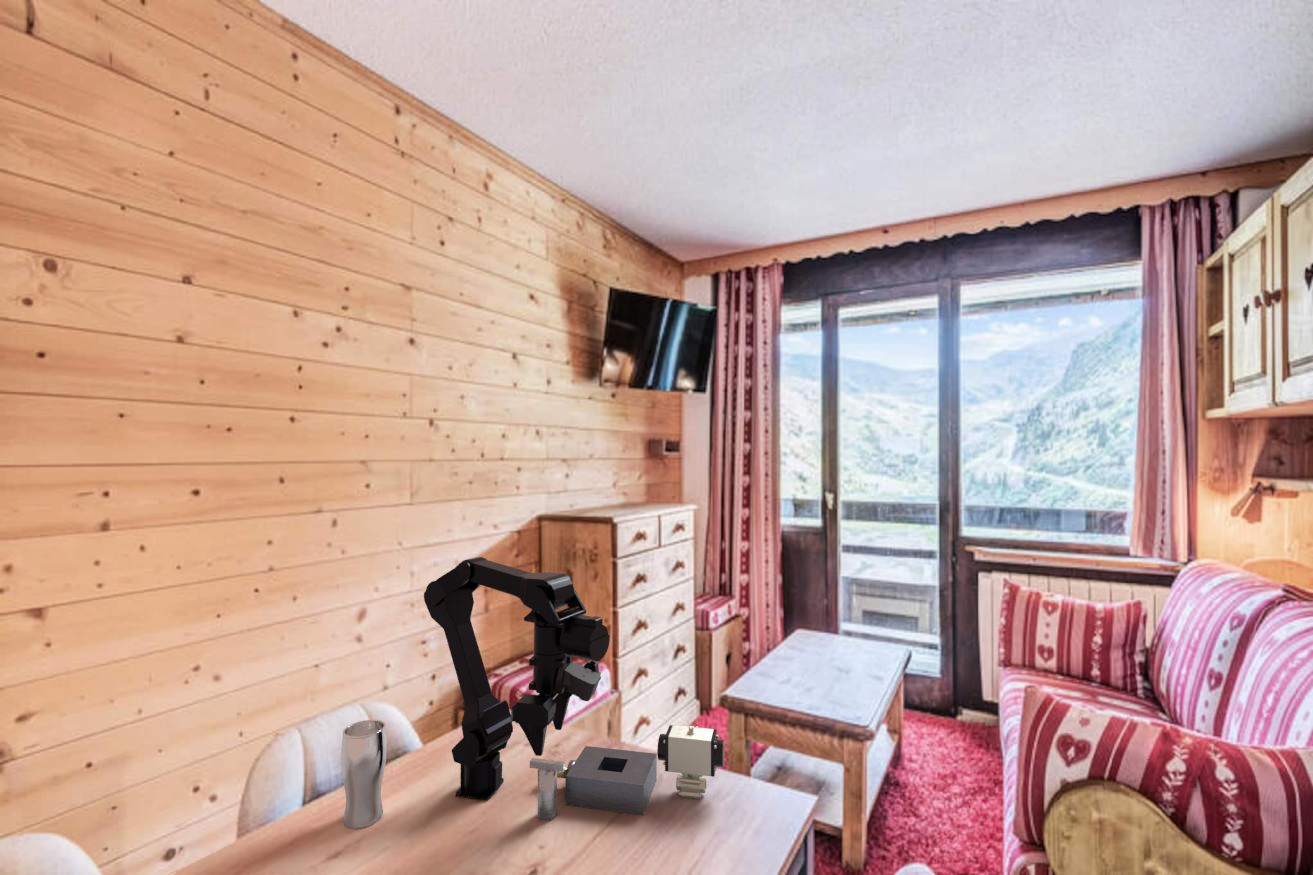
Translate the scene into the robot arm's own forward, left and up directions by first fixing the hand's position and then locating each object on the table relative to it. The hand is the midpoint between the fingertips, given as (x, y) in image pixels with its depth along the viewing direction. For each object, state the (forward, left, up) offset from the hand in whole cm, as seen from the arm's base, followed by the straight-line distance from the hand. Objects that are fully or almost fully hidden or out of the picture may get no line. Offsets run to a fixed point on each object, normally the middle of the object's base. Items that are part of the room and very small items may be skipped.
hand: (549, 741), depth 103 cm
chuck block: (+6, +9, -12) cm, 16 cm away
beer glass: (-30, -7, -13) cm, 33 cm away
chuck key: (0, 0, -12) cm, 12 cm away
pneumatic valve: (+23, +12, -13) cm, 29 cm away
